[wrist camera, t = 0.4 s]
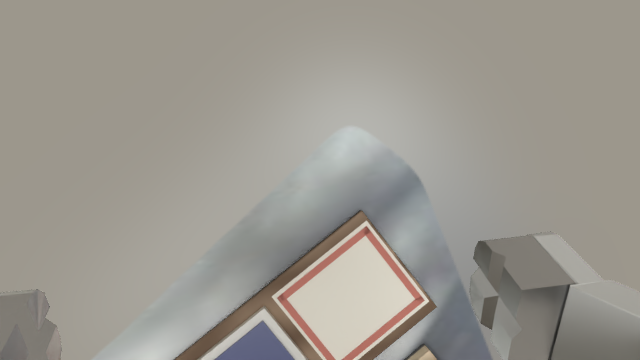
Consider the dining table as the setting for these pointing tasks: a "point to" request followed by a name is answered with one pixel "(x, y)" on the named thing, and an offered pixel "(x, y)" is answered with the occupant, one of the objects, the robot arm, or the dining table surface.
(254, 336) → the ink pad
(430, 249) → the dining table surface
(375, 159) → the dining table surface
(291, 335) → the stamping board
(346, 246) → the sheet
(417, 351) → the wooden stamp
